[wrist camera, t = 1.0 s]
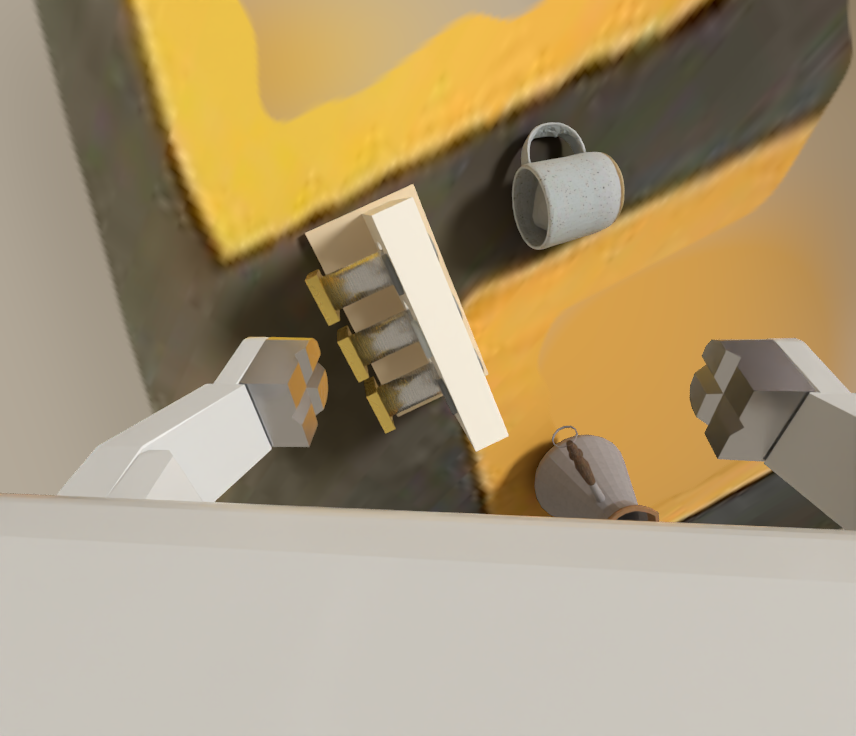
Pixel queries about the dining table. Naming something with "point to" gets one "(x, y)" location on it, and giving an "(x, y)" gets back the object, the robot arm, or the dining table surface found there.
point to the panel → (414, 305)
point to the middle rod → (377, 341)
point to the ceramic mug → (565, 192)
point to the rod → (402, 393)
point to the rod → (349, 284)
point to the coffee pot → (587, 481)
